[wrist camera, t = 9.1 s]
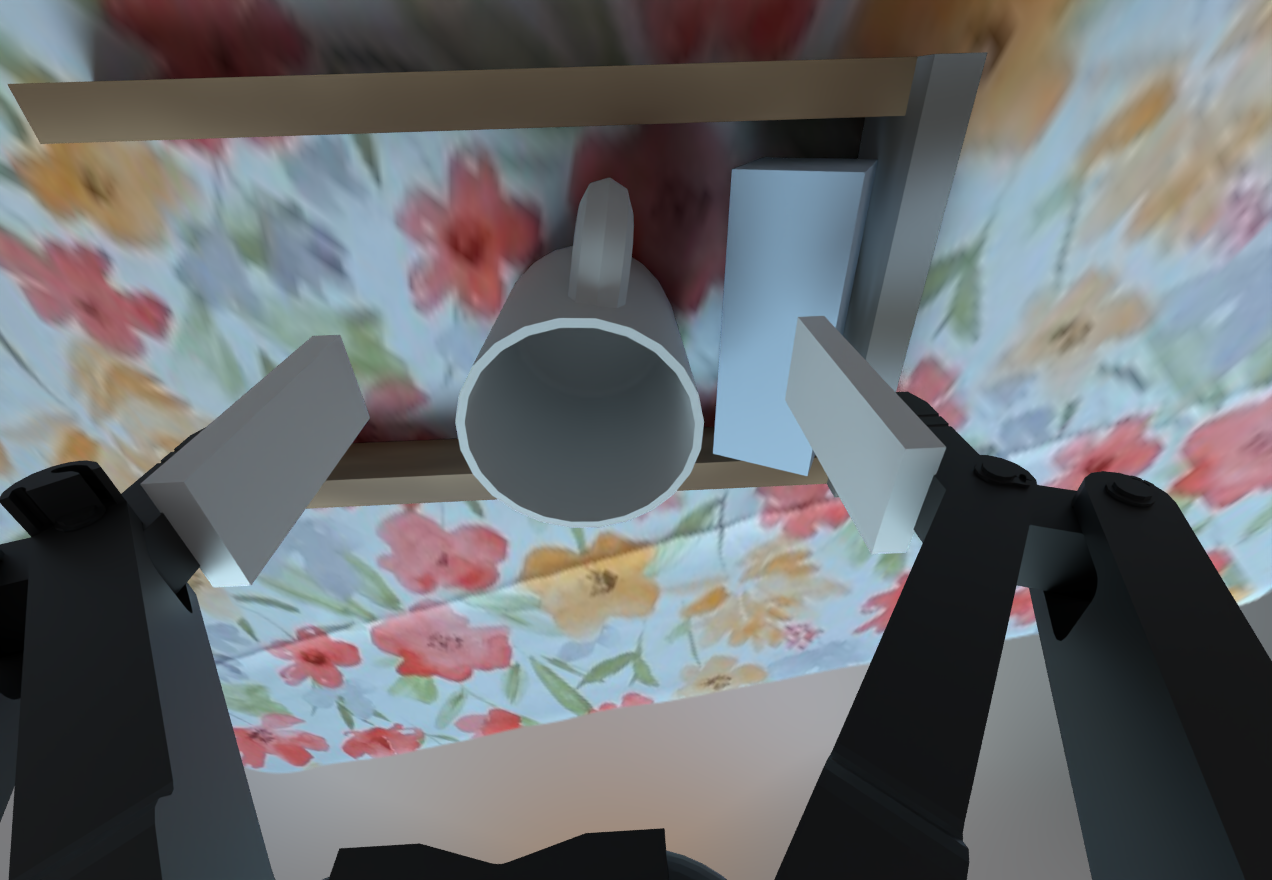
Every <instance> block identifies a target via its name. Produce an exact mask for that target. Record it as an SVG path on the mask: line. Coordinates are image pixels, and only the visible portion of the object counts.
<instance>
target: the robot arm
mask: <svg viewBox="0 0 1272 880" xmlns="http://www.w3.org/2000/svg"><path fill="white" fill-rule="evenodd" d="M785 401H786V403H787V404H788V406H789V408H790V410H791V412H792V413H793V415H794V417H795V419H796V421H797V422H798V424H799V426H800V428H801V429H802V431H803V433H804V435H805V437H806V438H807V440H808V442H809V444H810V446H811V447H812V449H813V451H814V453H815V454H816V456H817V458H818V460H819V462H820V463H821V465H822V467H823V469H824V471H825V472H826V474H827V476H828V478H829V479H830V481H831V483H832V485H833V487H834V488H835V490H836V492H837V494H838V496H839V497H840V499H841V501H842V503H843V504H844V506H845V508H846V510H847V512H848V513H849V515H850V517H851V519H852V521H853V522H854V524H855V526H856V528H857V529H858V531H859V533H860V535H861V537H862V538H863V540H864V542H865V544H866V546H867V547H868V549H869V551H870V553H871V554H887V553H907V550H908V548H909V545H910V542H911V540H912V537H913V534H914V532H916V534H917V535H918V537H919V538H920V540H921V541H922V543H923V544H922V546H921V549H920V551H919V553H918V555H917V558H916V560H915V562H914V565H913V567H912V569H911V572H910V574H909V576H908V578H907V581H906V583H905V585H904V588H903V590H902V592H901V594H900V597H899V599H898V601H897V604H896V606H895V608H894V611H893V613H892V615H891V617H890V620H889V622H888V624H887V627H886V629H885V631H884V633H883V636H882V638H881V640H880V643H879V645H878V647H877V650H876V652H875V654H874V656H873V659H872V661H871V663H870V666H869V668H868V670H867V673H866V675H865V677H864V679H863V682H862V684H861V686H860V689H859V691H858V693H857V696H856V698H855V700H854V703H853V705H852V707H851V709H850V711H849V714H848V716H847V718H846V721H845V723H844V725H843V728H842V730H841V732H840V734H839V737H838V739H837V741H836V744H835V746H834V748H833V750H832V752H831V755H830V756H829V758H828V759H827V761H826V764H825V766H824V768H823V770H822V773H821V775H820V777H819V779H818V781H817V783H816V786H815V788H814V790H813V793H812V795H811V797H810V799H809V802H808V804H807V806H806V809H805V811H804V814H803V815H802V818H801V820H800V822H799V825H798V827H797V829H796V831H795V834H794V836H793V838H792V841H791V843H790V845H789V847H788V850H787V852H786V854H785V857H784V859H783V861H782V863H781V866H780V868H779V870H778V872H777V875H776V877H775V880H967V873H968V867H969V849H968V847H967V846H966V845H965V844H964V842H963V828H964V822H965V818H966V813H967V808H968V804H969V799H970V795H971V790H972V786H973V781H974V777H975V772H976V767H977V763H978V758H979V753H980V749H981V745H982V740H983V736H984V731H985V726H986V722H987V717H988V713H989V708H990V704H991V699H992V694H993V690H994V685H995V681H996V676H997V672H998V667H999V662H1000V658H1001V654H1002V649H1003V644H1004V640H1005V635H1006V631H1007V626H1008V622H1009V617H1010V612H1011V608H1012V603H1013V599H1014V594H1015V590H1016V585H1018V586H1023V587H1028V588H1029V590H1030V595H1031V599H1032V604H1033V609H1034V613H1035V618H1036V622H1037V627H1038V632H1039V636H1040V641H1041V645H1042V650H1043V655H1044V659H1045V664H1046V668H1047V673H1048V678H1049V682H1050V687H1051V692H1052V696H1053V701H1054V705H1055V710H1056V715H1057V719H1058V724H1059V728H1060V733H1061V738H1062V742H1063V747H1064V752H1065V756H1066V761H1067V765H1068V770H1069V775H1070V779H1071V784H1072V788H1073V793H1074V798H1075V802H1076V807H1077V811H1078V816H1079V821H1080V825H1081V830H1082V835H1083V839H1084V844H1085V848H1086V853H1087V858H1088V862H1089V867H1090V872H1091V876H1092V880H1272V661H1271V659H1270V658H1269V656H1268V655H1267V653H1266V651H1265V650H1264V648H1263V646H1262V644H1261V643H1260V641H1259V639H1258V638H1257V636H1256V635H1255V633H1254V631H1253V629H1252V628H1251V626H1250V625H1249V623H1248V621H1247V620H1246V618H1245V616H1244V615H1243V613H1242V611H1241V610H1240V608H1239V606H1238V605H1237V603H1236V601H1235V600H1234V598H1233V596H1232V595H1231V593H1230V591H1229V590H1228V588H1227V586H1226V585H1225V583H1224V581H1223V580H1222V578H1221V576H1220V575H1219V573H1218V571H1217V570H1216V568H1215V566H1214V565H1213V563H1212V561H1211V560H1210V558H1209V556H1208V555H1207V553H1206V552H1205V550H1204V548H1203V547H1202V545H1201V543H1200V542H1199V540H1198V538H1197V537H1196V535H1195V533H1194V532H1193V530H1192V528H1191V527H1190V525H1189V523H1188V522H1187V520H1186V518H1185V517H1184V515H1183V513H1182V512H1181V510H1180V508H1179V507H1178V505H1177V503H1176V502H1175V501H1174V500H1173V499H1172V498H1171V497H1170V496H1169V495H1168V494H1167V493H1166V492H1164V491H1162V490H1161V489H1159V488H1158V487H1156V486H1154V484H1152V483H1150V482H1148V481H1146V480H1144V481H1143V480H1142V479H1141V478H1138V477H1135V476H1129V475H1125V474H1121V473H1115V472H1105V471H1102V472H1095V473H1091V474H1089V475H1088V476H1087V477H1085V478H1084V480H1083V482H1082V484H1081V485H1080V487H1079V489H1078V490H1077V491H1074V490H1067V489H1060V488H1053V487H1047V486H1040V485H1037V482H1036V479H1035V478H1034V477H1033V476H1032V475H1031V474H1030V473H1029V472H1028V471H1027V470H1025V469H1024V468H1022V467H1020V466H1019V465H1017V464H1015V463H1013V462H1010V461H1008V460H1005V459H1002V458H998V457H993V456H989V455H979V454H978V453H977V452H976V451H975V450H974V449H973V448H972V447H971V446H970V445H969V444H968V443H967V442H966V441H965V440H964V439H963V438H962V437H961V436H960V435H959V434H958V433H957V432H956V431H955V430H954V429H953V428H952V427H951V426H948V423H947V422H946V421H945V420H944V419H943V418H942V417H941V416H939V414H938V413H937V412H936V411H935V410H934V409H933V408H932V407H931V406H930V405H929V404H928V403H927V402H926V401H924V400H922V399H920V398H918V397H917V396H915V395H913V394H911V393H909V392H895V391H894V390H893V389H892V388H891V387H890V386H889V385H888V384H887V383H886V382H885V381H884V380H883V379H882V377H881V376H880V375H879V374H878V373H877V372H876V371H875V370H874V369H873V368H872V367H871V366H870V365H869V364H868V362H867V361H866V360H865V359H864V358H863V357H862V356H861V355H860V354H859V353H858V352H857V351H856V350H855V348H854V347H853V346H852V345H851V344H850V343H849V342H848V341H847V340H846V339H845V338H844V337H843V336H842V335H841V333H840V332H839V331H838V330H837V329H836V328H835V327H834V326H833V325H832V324H831V323H830V322H829V321H828V319H827V318H826V317H825V316H808V317H798V319H797V326H796V332H795V339H794V345H793V351H792V358H791V364H790V371H789V377H788V383H787V390H786V396H785ZM369 419H370V416H369V413H368V410H367V408H366V405H365V402H364V399H363V397H362V394H361V391H360V388H359V386H358V383H357V380H356V377H355V375H354V372H353V369H352V366H351V364H350V361H349V358H348V355H347V352H346V350H345V347H344V344H343V341H342V339H341V336H340V335H326V336H312V337H311V338H310V339H309V340H307V341H306V342H305V343H304V344H303V345H302V346H300V347H299V348H298V349H297V350H296V351H295V352H293V353H292V354H291V355H290V356H289V357H288V358H286V359H285V360H284V361H283V362H282V363H281V364H279V365H278V366H277V367H276V368H275V369H274V370H272V371H271V372H270V373H269V374H268V375H267V376H265V377H264V378H263V379H262V380H261V381H260V382H258V383H257V384H256V385H255V386H254V387H253V388H251V389H250V390H249V391H248V392H247V393H246V394H244V395H243V396H242V397H241V398H240V399H239V400H237V401H236V402H235V403H234V404H233V405H232V406H230V407H229V408H228V409H227V410H226V411H225V412H223V413H222V414H221V415H220V416H219V417H218V418H216V419H215V420H214V421H213V422H212V423H211V424H209V425H208V426H207V427H205V428H203V429H202V430H200V431H198V432H196V433H194V434H192V435H190V436H189V437H188V438H187V439H186V440H185V441H183V442H182V443H181V444H180V445H179V446H177V447H176V448H175V449H174V450H175V451H174V452H170V453H169V454H168V455H167V456H166V457H164V458H163V459H162V460H161V463H157V464H156V465H155V466H154V467H153V468H151V469H150V470H149V471H148V472H147V473H145V474H144V475H143V476H142V477H141V478H139V479H138V480H137V481H136V482H135V483H134V484H132V485H131V486H130V487H129V488H128V489H126V490H125V491H124V492H123V493H122V494H121V493H120V492H119V491H118V489H117V488H116V487H115V485H114V484H113V483H112V481H111V480H110V479H109V477H108V476H107V475H106V473H105V472H104V471H103V469H102V468H101V467H100V465H99V464H98V463H97V462H92V461H76V462H68V463H64V464H60V465H56V466H52V467H50V468H47V469H44V470H42V471H39V472H36V473H34V474H31V475H30V476H28V477H26V478H24V479H22V480H20V481H18V482H16V483H15V484H13V485H12V486H11V487H9V488H8V489H7V490H5V491H4V492H3V493H2V495H1V497H0V503H1V504H2V506H3V507H4V508H5V509H6V510H7V511H8V512H9V513H10V514H11V515H12V516H13V517H14V518H15V520H16V521H17V522H18V523H19V524H20V525H21V526H22V527H23V528H24V529H25V530H26V531H27V532H28V534H29V535H30V536H31V538H27V539H22V540H18V541H14V542H9V543H5V544H0V821H1V819H2V816H3V814H4V811H5V809H6V806H7V804H8V801H9V799H10V796H11V794H12V791H13V788H14V786H15V791H14V806H13V822H12V837H11V852H10V867H9V880H275V878H274V875H273V872H272V869H271V866H270V862H269V858H268V855H267V851H266V848H265V844H264V840H263V837H262V833H261V829H260V825H259V822H258V818H257V815H256V811H255V808H254V804H253V800H252V796H251V793H250V789H249V785H248V782H247V779H246V775H245V771H244V767H243V764H242V760H241V756H240V753H239V749H238V745H237V742H236V738H235V734H234V731H233V727H232V724H231V720H230V716H229V713H228V709H227V705H226V702H225V698H224V694H223V691H222V687H221V683H220V680H219V676H218V673H217V669H216V665H215V662H214V658H213V654H212V651H211V647H210V643H209V640H208V636H207V632H206V629H205V625H204V622H203V618H202V614H201V611H200V607H199V603H198V600H197V596H196V594H195V592H194V591H193V590H192V588H191V587H190V586H189V584H188V583H187V581H188V580H189V579H190V578H191V577H192V575H193V574H194V573H195V572H196V571H197V569H198V568H200V569H201V570H202V572H203V573H204V575H205V576H206V577H207V579H208V580H209V582H210V583H211V584H212V586H213V587H231V586H251V585H252V583H253V582H254V581H255V579H256V578H257V576H258V575H259V574H260V572H261V571H262V569H263V568H264V566H265V565H266V564H267V562H268V561H269V559H270V558H271V557H272V555H273V554H274V552H275V551H276V550H277V548H278V547H279V545H280V544H281V543H282V541H283V540H284V538H285V537H286V536H287V534H288V533H289V531H290V530H291V528H292V527H293V526H294V524H295V523H296V521H297V520H298V519H299V517H300V516H301V514H302V513H303V512H304V510H305V509H306V507H307V506H308V505H309V503H310V502H311V500H312V499H313V498H314V496H315V495H316V493H317V492H318V490H319V489H320V488H321V486H322V485H323V483H324V482H325V481H326V479H327V478H328V476H329V475H330V474H331V472H332V471H333V469H334V468H335V467H336V465H337V464H338V462H339V461H340V460H341V458H342V457H343V455H344V454H345V452H346V451H347V450H348V448H349V447H350V445H351V444H352V443H353V441H354V440H355V438H356V437H357V436H358V434H359V433H360V431H361V430H362V429H363V427H364V426H365V424H366V423H367V421H368V420H369ZM323 880H727V879H725V878H724V877H723V876H722V875H720V874H719V873H717V872H715V871H714V870H712V869H710V868H709V867H707V866H706V865H704V864H702V863H700V862H698V861H695V860H693V859H691V858H688V857H686V856H684V855H680V854H677V853H673V852H670V851H666V843H665V830H664V828H663V829H648V830H632V831H631V830H630V831H614V832H599V833H585V834H582V835H580V836H577V837H574V838H572V839H569V840H566V841H564V842H561V843H558V844H556V845H553V846H551V847H548V848H545V849H542V850H540V851H537V852H534V853H532V854H529V855H526V856H524V857H521V858H518V859H516V860H513V861H510V862H507V863H504V864H492V863H488V862H484V861H481V860H477V859H474V858H470V857H466V856H462V855H459V854H456V853H452V852H448V851H445V850H441V849H437V848H433V847H430V846H427V845H423V844H405V845H391V846H373V847H357V848H341V849H339V851H338V854H337V857H336V860H335V863H334V866H333V869H332V872H331V874H330V877H328V878H325V879H323Z"/></svg>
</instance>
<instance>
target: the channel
mask: <svg viewBox="0 0 1272 880" xmlns="http://www.w3.org/2000/svg"><path fill="white" fill-rule="evenodd" d="M986 56H987V53H954V54H932V55H926V56H919V57H891V58H858V59H824V60H791V61H758V62H725V63H692V64H658V65H625V66H592V67H559V68H526V69H492V70H459V71H426V72H393V73H360V74H326V75H293V76H260V77H227V78H194V79H160V80H127V81H94V82H61V83H28V84H8V86H9V88H10V90H11V92H12V93H13V95H14V97H15V99H16V101H17V102H18V104H19V106H20V108H21V109H22V111H23V113H24V115H25V117H26V118H27V120H28V122H29V124H30V126H31V127H32V129H33V131H34V133H35V135H36V136H37V138H38V140H39V142H40V144H54V143H84V142H115V141H146V140H176V139H207V138H238V137H268V136H299V135H330V134H360V133H391V132H422V131H452V130H483V129H514V128H544V127H575V126H606V125H636V124H667V123H698V122H728V121H759V120H790V119H820V118H851V117H865V122H864V127H863V133H862V138H861V144H860V150H859V155H858V159H878V162H877V167H876V172H875V178H874V183H873V188H872V193H871V198H870V203H869V208H868V213H867V218H866V223H865V228H864V233H863V238H862V243H861V248H860V253H859V258H858V263H857V268H856V273H855V278H854V283H853V288H852V293H851V298H850V303H849V308H848V313H847V318H846V323H845V328H844V333H843V337H844V338H845V339H846V340H847V341H848V342H849V343H850V344H851V345H852V346H853V347H854V348H855V350H856V351H857V352H858V353H859V354H860V355H861V356H862V357H863V358H864V359H865V360H866V361H867V362H868V364H869V365H870V366H871V367H872V368H873V369H874V370H875V371H876V372H877V373H878V374H879V375H880V376H881V377H882V379H883V380H884V381H885V382H886V383H887V384H888V385H889V386H890V387H891V388H892V389H893V390H894V391H895V392H896V389H897V385H898V382H899V378H900V374H901V371H902V367H903V363H904V360H905V356H906V352H907V348H908V345H909V341H910V337H911V334H912V330H913V326H914V323H915V319H916V315H917V311H918V308H919V304H920V300H921V297H922V293H923V289H924V286H925V282H926V278H927V274H928V271H929V267H930V263H931V260H932V256H933V252H934V249H935V245H936V241H937V237H938V234H939V230H940V226H941V223H942V219H943V215H944V212H945V208H946V204H947V200H948V197H949V193H950V189H951V186H952V182H953V178H954V175H955V171H956V167H957V163H958V160H959V156H960V152H961V149H962V145H963V141H964V138H965V134H966V130H967V126H968V123H969V119H970V115H971V112H972V108H973V104H974V101H975V97H976V93H977V89H978V86H979V82H980V78H981V75H982V71H983V67H984V64H985V60H986ZM714 431H715V427H703V436H702V445H701V450H700V453H699V455H698V457H697V460H696V462H695V464H694V467H693V469H692V471H691V473H690V475H689V476H688V477H687V478H686V480H685V481H684V482H683V483H682V485H681V486H680V487H679V488H678V490H677V491H683V490H703V489H724V488H745V487H766V486H787V485H808V484H827V485H828V487H829V488H830V490H831V492H832V494H833V495H834V497H839V496H838V494H837V492H836V490H835V488H834V487H833V485H832V483H831V481H830V479H829V478H828V476H827V474H826V472H825V471H824V469H823V467H822V465H821V463H820V462H819V460H818V458H817V456H816V454H815V456H814V459H813V462H812V465H811V468H810V471H809V473H808V476H804V475H800V474H796V473H791V472H787V471H783V470H779V469H775V468H771V467H767V466H762V465H758V464H754V463H750V462H746V461H742V460H738V459H733V458H729V457H725V456H721V455H717V454H713V446H714ZM495 499H497V498H495V497H494V496H492V495H491V494H490V493H489V492H488V490H487V489H486V488H485V487H484V486H483V485H482V484H481V483H480V482H479V480H478V479H477V478H476V477H475V476H474V475H473V473H472V471H471V470H470V468H469V466H468V464H467V462H466V460H465V458H464V456H463V454H462V452H461V450H460V445H459V440H458V439H439V440H417V441H395V442H373V443H352V444H351V445H350V447H349V448H348V450H347V451H346V452H345V454H344V455H343V457H342V458H341V460H340V461H339V462H338V464H337V465H336V467H335V468H334V469H333V471H332V472H331V474H330V475H329V476H328V478H327V479H326V481H325V482H324V483H323V485H322V486H321V488H320V489H319V490H318V492H317V493H316V495H315V496H314V498H313V499H312V500H311V502H310V503H309V505H308V506H307V507H306V509H308V508H328V507H349V506H370V505H391V504H412V503H433V502H453V501H474V500H495Z"/></svg>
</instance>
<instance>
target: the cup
mask: <svg viewBox="0 0 1272 880" xmlns="http://www.w3.org/2000/svg"><path fill="white" fill-rule="evenodd" d="M633 232H634V215H633V211H632V206H631V202H630V198H629V194H628V189H626V188H625V187H623V186H622V185H620V184H619V183H617V182H616V181H615V180H613V179H612V178H610V177H609V178H606V179H602V180H599V181H595V182H592V183H590V184H589V186H588V188H587V190H586V192H585V194H584V195H583V197H582V199H581V201H580V204H579V208H578V214H577V220H576V227H575V234H574V243H573V246H570V247H566V248H562V249H558V250H554V251H552V252H551V253H549V254H547V255H546V256H544V257H542V258H541V259H539V260H537V261H536V262H534V263H533V264H532V265H531V267H530V268H529V269H528V270H527V271H526V272H525V273H524V274H523V275H522V276H521V277H520V278H519V280H518V281H517V282H516V283H515V285H514V287H513V289H512V291H511V293H510V295H509V297H508V299H507V301H506V302H505V304H504V306H503V308H502V310H501V312H500V314H499V316H498V318H497V320H496V322H495V324H494V326H493V327H492V329H491V331H490V333H489V335H488V337H487V339H486V341H485V343H484V345H483V347H482V349H481V351H480V352H479V354H478V356H477V358H476V360H475V362H474V364H473V366H472V368H471V370H470V372H469V374H468V376H467V378H466V380H465V382H464V384H463V387H462V389H461V391H460V393H459V398H458V405H457V412H456V420H455V424H456V429H457V434H458V440H459V445H460V450H461V452H462V454H463V456H464V458H465V460H466V462H467V464H468V466H469V468H470V470H471V471H472V473H473V475H474V476H475V477H476V478H477V479H478V480H479V482H480V483H481V484H482V485H483V486H484V487H485V488H486V489H487V490H488V492H489V493H490V494H491V495H492V496H494V497H495V498H497V499H498V500H499V501H501V502H502V503H504V504H505V505H507V506H508V507H510V508H511V509H512V510H514V511H515V512H518V513H520V514H523V515H525V516H528V517H530V518H533V519H535V520H537V521H540V522H543V523H548V524H553V525H558V526H564V527H569V528H598V527H604V526H609V525H613V524H618V523H623V522H627V521H629V520H632V519H634V518H636V517H638V516H641V515H643V514H645V513H647V512H650V511H652V510H653V509H655V508H656V507H657V506H659V505H660V504H661V503H663V502H664V501H665V500H667V499H668V498H669V497H671V496H672V495H673V494H674V493H675V492H676V491H677V490H678V488H679V487H680V486H681V485H682V483H683V482H684V481H685V480H686V478H687V477H688V476H689V475H690V473H691V471H692V469H693V467H694V464H695V462H696V460H697V457H698V455H699V453H700V450H701V445H702V436H703V427H704V420H703V415H702V410H701V404H700V399H699V394H698V391H697V388H696V384H695V381H694V378H693V375H692V371H691V368H690V365H689V362H688V358H687V355H686V352H685V349H684V345H683V342H682V339H681V336H680V332H679V329H678V326H677V323H676V319H675V316H674V313H673V310H672V306H671V304H670V302H669V300H668V298H667V296H666V294H665V292H664V291H663V289H662V287H661V285H660V283H659V281H658V280H657V279H656V278H655V277H654V276H653V274H652V273H651V272H650V271H649V270H648V269H647V268H646V267H645V266H644V265H643V264H642V263H640V262H639V261H637V260H636V259H634V258H632V248H633Z"/></svg>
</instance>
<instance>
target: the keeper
mask: <svg viewBox="0 0 1272 880" xmlns="http://www.w3.org/2000/svg"><path fill="white" fill-rule="evenodd" d="M877 162H878V159H833V158H761V159H758V160H756V161H753V162H750V163H748V164H745V165H742V166H739V167H737V168H734V169H732V175H731V191H730V206H729V221H728V236H727V251H726V266H725V281H724V296H723V311H722V326H721V341H720V356H719V371H718V386H717V401H716V416H715V431H714V446H713V454H717V455H721V456H725V457H729V458H733V459H738V460H742V461H746V462H750V463H754V464H758V465H762V466H767V467H771V468H775V469H779V470H783V471H787V472H791V473H796V474H800V475H804V476H808V473H809V471H810V468H811V465H812V462H813V459H814V456H815V453H814V451H813V449H812V447H811V446H810V444H809V442H808V440H807V438H806V437H805V435H804V433H803V431H802V429H801V428H800V426H799V424H798V422H797V421H796V419H795V417H794V415H793V413H792V412H791V410H790V408H789V406H788V404H787V403H786V401H785V396H786V390H787V383H788V377H789V371H790V364H791V358H792V351H793V345H794V339H795V332H796V326H797V319H798V317H808V316H825V317H826V318H827V319H828V321H829V322H830V323H831V324H832V325H833V326H834V327H835V328H836V329H837V330H838V331H839V332H840V333H841V335H842V336H843V333H844V328H845V323H846V318H847V313H848V308H849V303H850V298H851V293H852V288H853V283H854V278H855V273H856V268H857V263H858V258H859V253H860V248H861V243H862V238H863V233H864V228H865V223H866V218H867V213H868V208H869V203H870V198H871V193H872V188H873V183H874V178H875V172H876V167H877Z"/></svg>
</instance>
